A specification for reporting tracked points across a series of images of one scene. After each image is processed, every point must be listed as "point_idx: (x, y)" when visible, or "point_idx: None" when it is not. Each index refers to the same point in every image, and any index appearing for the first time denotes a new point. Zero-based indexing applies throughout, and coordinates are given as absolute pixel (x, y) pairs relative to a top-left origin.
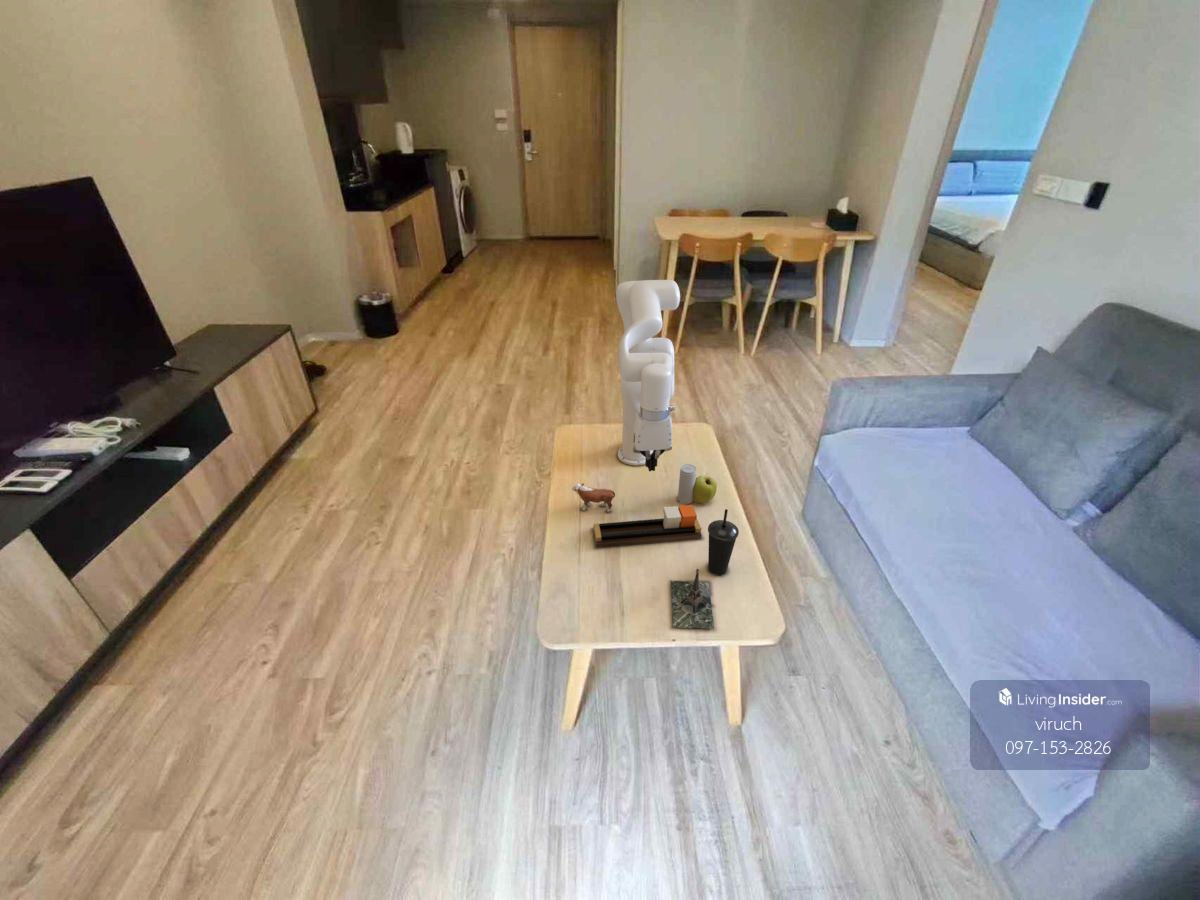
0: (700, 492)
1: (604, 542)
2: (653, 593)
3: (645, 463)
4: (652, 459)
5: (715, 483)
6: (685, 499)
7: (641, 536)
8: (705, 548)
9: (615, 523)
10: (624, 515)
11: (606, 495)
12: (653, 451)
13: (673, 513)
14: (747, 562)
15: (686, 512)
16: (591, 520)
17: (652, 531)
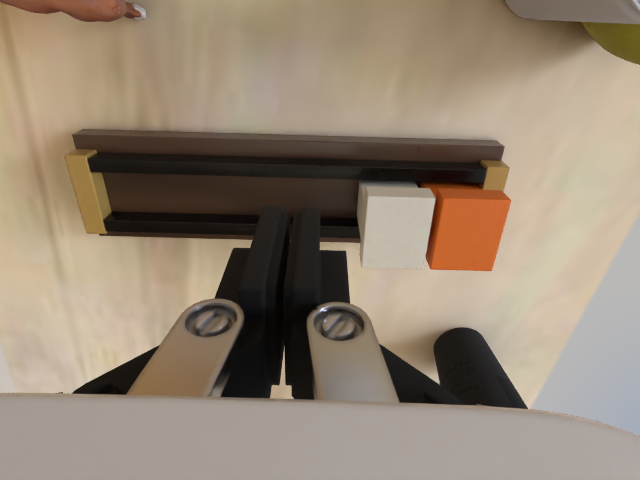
0: (626, 51)
1: (127, 232)
2: None
3: (232, 256)
4: (286, 363)
5: None
6: (531, 17)
7: None
8: (466, 276)
9: (158, 168)
10: (214, 55)
11: (75, 13)
12: (308, 356)
13: (398, 244)
14: (553, 338)
15: (458, 245)
16: (65, 67)
17: None
